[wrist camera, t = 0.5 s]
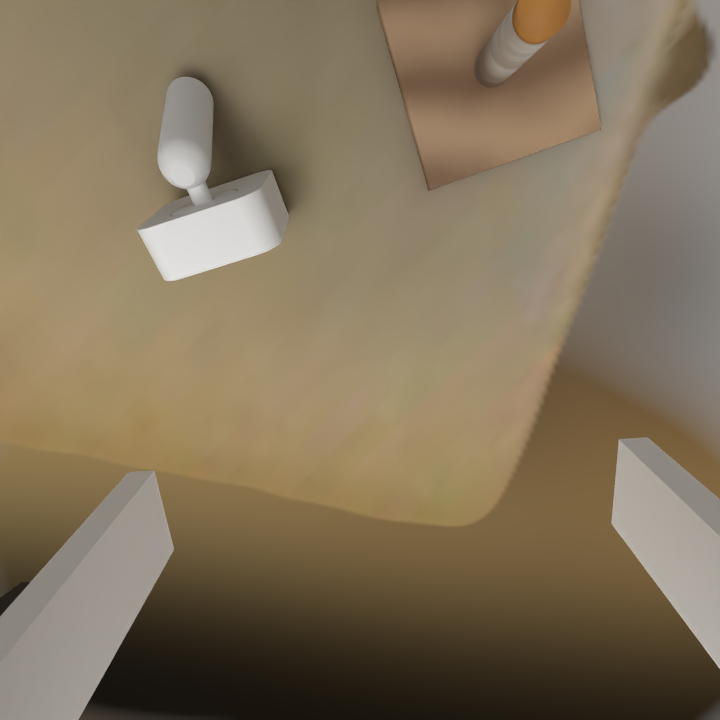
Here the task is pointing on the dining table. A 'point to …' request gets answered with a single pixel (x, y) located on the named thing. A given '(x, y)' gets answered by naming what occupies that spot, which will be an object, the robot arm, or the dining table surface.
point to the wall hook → (206, 196)
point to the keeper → (489, 79)
